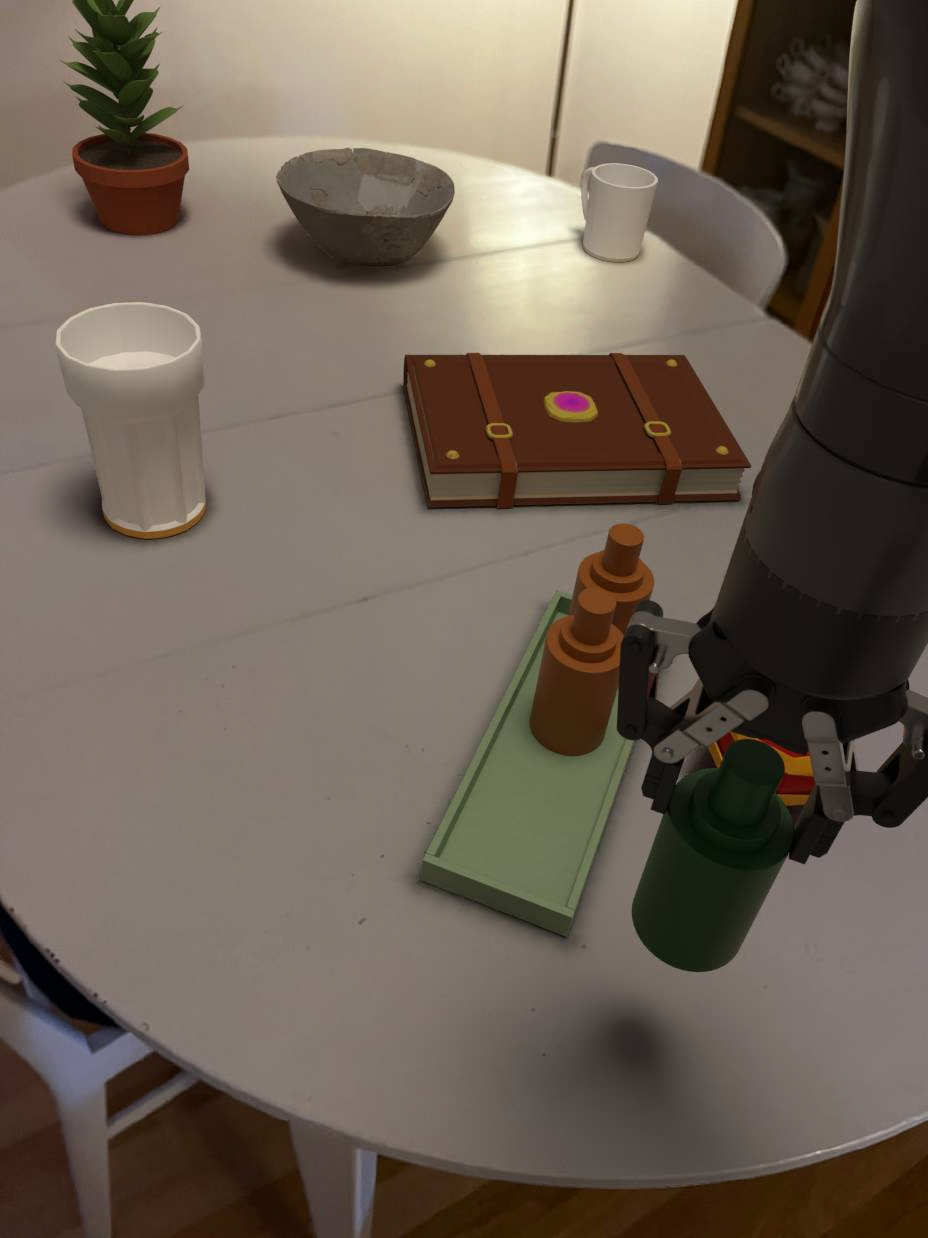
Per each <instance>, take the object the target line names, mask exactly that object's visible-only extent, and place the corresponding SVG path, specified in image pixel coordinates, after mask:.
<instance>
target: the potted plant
mask: <svg viewBox="0 0 928 1238" xmlns="http://www.w3.org/2000/svg"><path fill="white" fill-rule="evenodd" d="M134 1H135V0H118V1H117V3H116V4H115V1H114V0H71V3H72V5H73V6H74V7H75V8H76V10H77V11H78V13H79V14H80V15H81V17H82V18H83V19H84V20H85V21H86V23H87V24H88V25H89V26H90V28H91V33H92V36H90V35H89V36H88V35H85V34H83V33H82V32H80V31H79V30H78V29H76V28H74V30H75V32H77V34H78V35H79V36H80V37H81V38H83V39H84V41H76V40H74V39H73V38H72V37H70V36H69V35H67V37H68V38H69V40H70V41H71V43H72V46H73V47H74V49H75V50H77V51H78V52H79V54H80V55H81V56H82V57H84V58H85V60H87V61H88V62H89V64H91V66H90V65H88V64H86V63H83V62H79V61H70V62H65V61H64V60H62V59H59V58H57V61H60V62H61V63H63V64H64V65H66V66H67V67H68V68H70V69H72V70H73V71H75V72H77V73H79V74H80V75H82V76H83V77H85V78H87V79H89V80H91V81H92V82H94V83H96V84H97V85H99V86H100V87H103V88H104V89H105V90H107V91H109V92H111V93H112V94H113V96H114V97H115V99H116V100H118V101H116V100H115V99H113V98H112V97H110V96H108V95H107V94H105V93H104V92H102V91H100V90H98V89H96V88H94V87H91V86H89V85H86V84H80V83H79V84H70V83H68V82H66V81H62V83H64V84H65V85H66V86H68V87H69V88H70V90H71V91H73V92H74V93H76V94H78V95H79V96H81V97H82V98H84V99H82V98H80V97H77V96H74V97H75V98H76V99H77V100H78V102H79V103H78V107H79V108H80V109H81V110H82V111H83V112H85V113H87V114H88V115H89V116H91V117H92V118H93V119H94V120H96V121H97V122H99V123H100V124H101V125H103V126H104V127H105V128H104V127H102V126H100V125H97V126H95V128H96V129H97V130H99V131H100V132H101V134H97V135H92V136H88V137H86V138H84V139H82V140H80V141H78V142H77V143H76V144H75V145H74V146H72V149H71V150H72V151H71V157H72V163H73V167H74V168H73V169H74V171H75V172H76V174H77V175H78V176H79V177H81V179H82V182H83V184H84V187H85V189H86V191H87V193H88V196H89V198H90V201H91V203H92V205H93V207H94V210H95V213H96V214H97V216H98V217H97V218H98V219H99V221H100V223H101V224H102V225H103V227H104V228H106V229H108V230H110V231H112V232H115V233H119V234H125V235H133V236H139V235H141V236H146V235H147V236H148V235H153V234H159V233H162V232H166V231H169V230H170V229H172V228H173V227H176V225H177V223H178V222H179V217H180V210H181V205H182V199H183V192H184V185H185V179H186V175H187V174H188V173H189V171H190V162H189V153H188V152H189V151H188V148H187V146H186V145H184V144H183V143H182V142H180V141H179V140H176V139H174V138H172V137H170V136H166V135H162V134H157V133H151V132H149V131H150V130H152V129H154V128H155V127H157V126H158V125H159V124H161V123H163V122H164V121H166V120H167V119H169V118H170V117H172V116H173V115H175V114H176V113H177V112H178V111H179V110H180V109H182V108H183V107H184V104H183V105H181V106H179V107H173V106H169V107H168V106H166V107H164V108H161V109H159V110H158V111H156V112H154V113H152V114H150V115H149V116H148V117H146V118H145V115H144V114H142V113H143V112H144V110H145V109H146V107H147V105H148V103H149V102H150V100H151V98H152V97H153V93H154V89H153V88H152V87H151V85H152V84H153V83H154V81H155V79H156V78H157V77H158V75H159V73H160V72H159V70H158V69H159V67H160V65H161V64H160V62H159V63H158V64H157V65H156V66H155V67H154V68H145V65H146V63H147V62H148V60H149V58H150V55H151V54H152V52H153V49H154V47H155V44H156V38H157V37H159V36H160V35H161V34H163V31H160V32H157V30H158V26H156V27H155V29H154V30H153V31H152V32H151V33H148V34H145V35H144V36H143V34H144V32H145V31H146V30H147V29H148V27H150V25H151V24H152V23H153V22H154V20H155V18H156V17H157V15H158V12H159V11H160V9H161V6H159V7H158V8H157V9H156V10H155V11H142V12H139V13H137V14H135V16H134V17H133V18H131V20H130V21H129V19H128V17H127V16H126V15H127V14H128V11H129V9H130V8H131V6H132V4H133V3H134ZM142 36H143V37H142ZM141 114H142V115H141ZM132 128H134V129H132Z"/></svg>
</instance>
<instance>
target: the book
mask: <svg viewBox="0 0 928 1238" xmlns="http://www.w3.org/2000/svg"><path fill="white" fill-rule="evenodd" d="M402 377H403V378H402V385H403V392H404V396H405V401H406V407H407V412H408V416H409V421H410V426H411V430H412V435H413V441H414V445H415V450H416V455H417V459H418V464H419V470H420V473H421V478H422V484H423V489H424V493H425V499H426V503H427V508H452V507H453V508H455V507H456V508H457V507H461V508H462V507H495V506H496V508H497V509H509V508H510V509H511V508H514V506H536V505H539V506H540V505H541V506H542V505H543V506H544V505H578V504H579V505H580V504H583V505H584V504H617V503H619V504H621V503H622V504H624V503H656V504H657V505H669V504H670V505H672V504H673V502H699V501H704V502H706V501H741V498H742V494H741V493H740V491H739V488H740V483H741V482H742V480H741V478H742V477H744V475H743V473H745V472H746V469H751V468H752V467H753V466H752V464H751V462H750V460H749V459H748V458H747V456H746V454H745V452H744V450H743V449H742V447H741V446H740V444H739V442H738V441H737V438H736V437H735V435H734V434H733V432H732V431H731V429H730V427H729V426H728V424H727V423H726V420H724V418H723V416H722V414H721V413H720V410H719V409H718V407H717V406H716V404H715V403H714V401H713V399H712V398H711V395H710V394H709V393H708V391H707V390H706V388H705V386H704V384H703V383H702V381H701V379H700V378H699V376H698V374H697V372H696V371H695V370H694V368H693V366H692V365H691V363H690V361H689V359H688V357H687V356H686V355H685V354H624V353H622V352H609V354H481V353H480V352H466V354H404V357H403V376H402Z"/></svg>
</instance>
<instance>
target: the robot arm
mask: <svg viewBox="0 0 928 1238" xmlns="http://www.w3.org/2000/svg"><path fill="white" fill-rule="evenodd" d="M847 78H848V79H847V103H846V104H847V106H846V134H845V147H844V148H845V150H844V160H843V161H844V163H843V173H842V185H841V193H840V194H841V195H840V203H839V215H838V216H839V217H838V227H837V240H836V252H835V259H834V269H833V276H832V283H831V287H830V291H829V294H828V297H827V301H826V303H825V306H824V308H823V311H822V314H821V317H820V319H819V323H818V327H817V329H816V332H815V334H814V338H813V340H812V344H811V346H810V350H809V352H808V355H807V359H806V361H805V363H804V367H803V370H802V373H801V375H800V378H799V381H798V385H797V387H796V391H795V394H794V395H793V398H792V400H791V402H790V406H789V408H788V410H787V412H786V414H785V416H784V419H783V420H782V422H781V424H780V426H779V427H778V430H777V431H776V433H775V435H774V436H773V439H772V441H771V443H770V446H769V448H768V449H767V451H766V454H765V456H764V460H763V462H762V464H761V468H760V470H759V472H758V474H757V475H756V477H755V479H754V482H753V484H752V490H751V498H750V500H749V502H748V503H749V504H748V506H747V510H746V512H745V515H744V518H743V522H742V524H741V527H740V530H739V533H738V536H737V539H736V542H735V545H734V548H733V551H732V553H731V557H730V560H729V562H728V566H727V569H726V572H725V574H724V577H723V581H722V583H721V586H720V590H719V592H718V595H717V598H716V601H715V604H714V606H713V607H712V608H711V610H709V611H708V612H706V613H705V614H704V615H703V616H701V617H700V618H699V619H698V620H697V622H696V623H695V622H690V621H684V620H679V619H673V618H668V617H664V610H663V608H662V606H661V605H660V603H658V602H656V601H654V600H651V599H650V600H643V601H640V602H639V603H637V605H636V607H635V609H634V612H633V614H632V617H631V619H630V622H629V624H628V627H627V629H626V632H625V634H624V637H623V639H622V642H621V648H620V669H619V689H618V710H617V731H618V733H619V734H620V735H621V736H622V737H624V738H625V739H628V740H635V741H639V740H642V741H643V742H645V743H646V744H647V745H648V746H649V748H650V750H651V755H650V759H649V762H648V765H647V768H646V771H645V775H644V778H643V781H642V784H641V786H640V789H641V794H642V796H643V797H645V798H648V799H651V800H653V801H652V803H651V806H650V809H649V810H650V811H652V812H656V813H658V814H661V815H663V814H664V815H665V813H666V810H667V807H668V804H669V802H670V799H671V796H672V793H673V791H674V788H675V785H676V784H677V783H678V781H679V777H680V774H681V771H682V769H683V765H684V762H685V757H687V756H688V755H690V754H691V753H693V752H694V751H696V750H697V749H698V748H700V747H702V748H704V749H708V747H709V746H710V745H712V744H713V743H715V742H716V741H717V740H719V739H720V738H722V737H723V736H725V735H726V734H727V733H729V732H730V731H731V732H734V733H737V734H740V735H743V736H746V737H750V738H757V739H764V740H769V741H771V742H773V743H775V744H777V745H779V746H781V747H782V748H784V749H786V750H789V751H792V752H795V753H798V754H801V755H804V756H806V754H807V752H808V751H809V754H810V759H811V765H812V770H813V775H814V780H815V786H814V788H813V790H812V792H811V794H810V796H809V798H808V800H807V802H806V803H805V804H803V805H804V806H803V808H802V810H800V811H801V812H800V813H799V815H798V816H797V817H798V818H797V819H796V822H795V824H794V840H793V845H792V848H791V850H790V852H789V854H788V860H791V861H793V862H796V863H798V864H802V865H806V863H807V861H808V860H809V858H810V856H812V857H815V858H817V859H820V858H822V857H824V856H825V855H827V854H828V853H829V851H830V849H831V848H832V846H833V844H834V843H835V840H836V839H837V837H838V835H839V834H840V831H841V829H842V828H843V826H844V824H845V822H848V821H851V820H852V819H853V818H854V817H856V816H864V817H871V819H872V821H873V822H874V823H875V824H876V825H878V826H880V827H883V828H886V829H894V828H898V827H900V826H901V825H902V824H903V823H904V822H905V821H906V820H907V819H908V818H909V817H910V816H911V815H912V814H913V813H914V812H916V810H917V809H918V808H919V807H920V806H921V805H922V804H923V803H924V802H925V801H926V800H927V799H928V697H927V696H925V695H922V694H920V693H917V692H916V691H913V690H911V689H910V680H909V678H910V677H911V676H912V674H913V671H914V669H915V667H916V666H917V664H918V662H919V660H920V659H921V657H922V655H923V653H924V651H925V650H926V647H927V646H928V0H856V1H855V6H854V11H853V15H852V25H851V35H850V46H849V56H848V77H847ZM680 655H688V658H689V661H690V663H691V665H692V666H693V669H694V671H695V673H696V675H697V676H698V678H699V679H697V681H696V682H695V684H694V685H693V687H692V688H691V689H690V691H688V692H687V693H686V694H685V695H684V696H682V697H681V698H680V699H678V700H677V701H675V703H673V704H672V705H671V706H668V705H667V704H665V703H664V702H663V701H660V700H658V699H657V697H658V684H659V674H660V672H661V670H665V669H666V670H667V669H668V668H670V667H671V665H672V663H673V662H674V661H673V660H674V659H675V658H676V657H677V656H680ZM899 722H900V724H902V725H903V734H902V742H901V743H900V744H899V746H897V747H896V749H895V750H894V751H893V752H892V753H891V754H890V755H889V757H887V759H886V760H884V762H883V763H882V764H881V765H880V767H878V768H877V770H876V771H867V770H866V771H865V770H859V763H858V757H857V751H856V744H855V741H856V740H857V739H860V738H864V737H865V736H866V737H867V736H868V735H870V734H874V733H875V732H876V733H877V732H879V731H881V730H885V729H886V728H890V727H892V726H894V725H896V724H897V723H899Z"/></svg>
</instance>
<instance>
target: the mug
mask: <svg viewBox="0 0 928 1238" xmlns="http://www.w3.org/2000/svg"><path fill="white" fill-rule="evenodd" d="M589 180H590V184H589ZM658 181H659V179H658V177H657V175H656V174H655V173H654V172H652V171H650V170H648V169H646V168H644V167H640V166H637V165H632V164H627V163H621V162H620V163H619V162H617V163H616V162H615V163H613V162H610V163H609V162H608V163H601V164H598V165H596V166H590V167H588V168H586V169H585V170H584V172H583V174H582V176H581V184H580V199H581V208H582V210H581V211H582V214H583V219H584V221H585V224H584V232H583V240H582V241H583V242H582V247H583V250H584V252H585V253H587V254H588V255H589V256H591V257H593V258H594V259H598V260H600V261H603V262H604V261H605V262H609V263H611V262H612V263H627V262H631V261H633V260H635V259H637V258H638V257H639V255H640V253H641V249H642V245H643V240H644V237H645V234H646V229H647V226H648V222H649V217H650V214H651V210H652V206H653V202H654V198H655V194H656V190H657V187H658V183H659V182H658Z"/></svg>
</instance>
